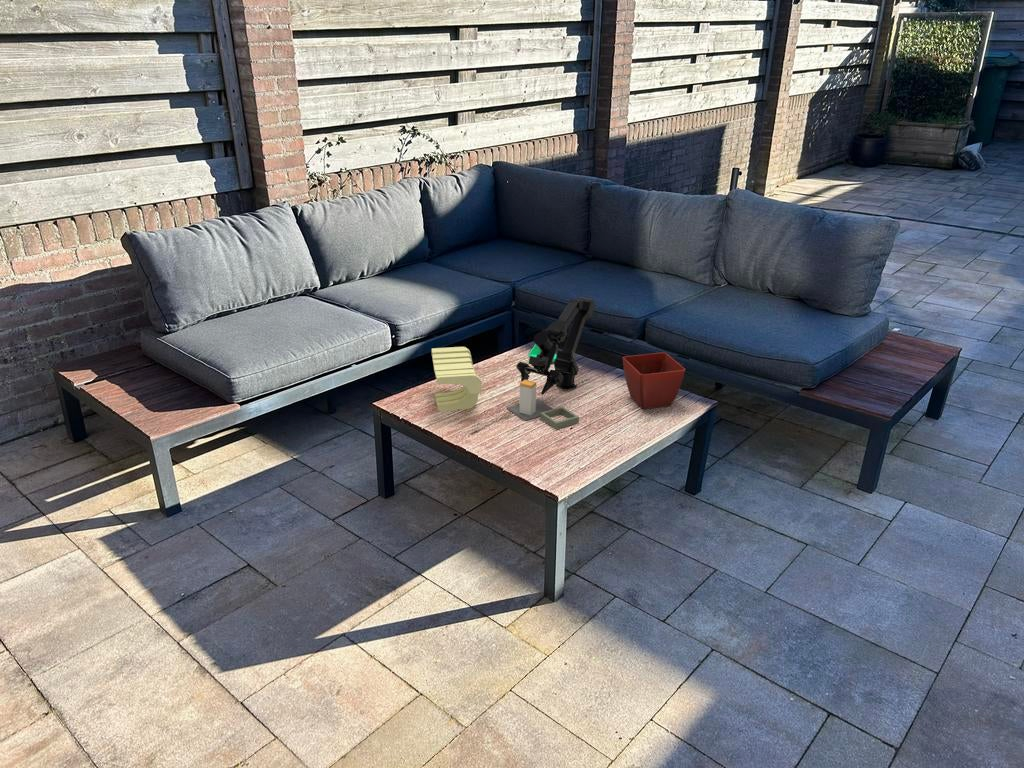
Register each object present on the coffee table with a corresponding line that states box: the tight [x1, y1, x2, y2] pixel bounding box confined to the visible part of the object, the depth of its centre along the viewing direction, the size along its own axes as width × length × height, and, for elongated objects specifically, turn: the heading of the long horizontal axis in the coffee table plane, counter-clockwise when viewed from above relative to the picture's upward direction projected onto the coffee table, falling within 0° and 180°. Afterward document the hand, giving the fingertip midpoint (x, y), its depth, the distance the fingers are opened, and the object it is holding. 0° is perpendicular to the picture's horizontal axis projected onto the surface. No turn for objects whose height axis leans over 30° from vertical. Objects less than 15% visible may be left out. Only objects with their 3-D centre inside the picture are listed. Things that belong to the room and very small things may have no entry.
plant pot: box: [622, 352, 686, 410], centre depth 322 cm, size 19×19×17 cm
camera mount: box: [528, 343, 557, 363], centre depth 362 cm, size 12×8×10 cm, turn 99°
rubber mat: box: [506, 398, 554, 422], centre depth 316 cm, size 15×13×1 cm
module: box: [519, 379, 537, 415], centre depth 311 cm, size 4×5×12 cm
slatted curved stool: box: [431, 346, 482, 412], centre depth 319 cm, size 30×16×18 cm, turn 10°
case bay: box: [539, 406, 580, 430], centre depth 308 cm, size 11×11×2 cm
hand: (531, 391), depth 313 cm, fingers open, 9 cm apart
